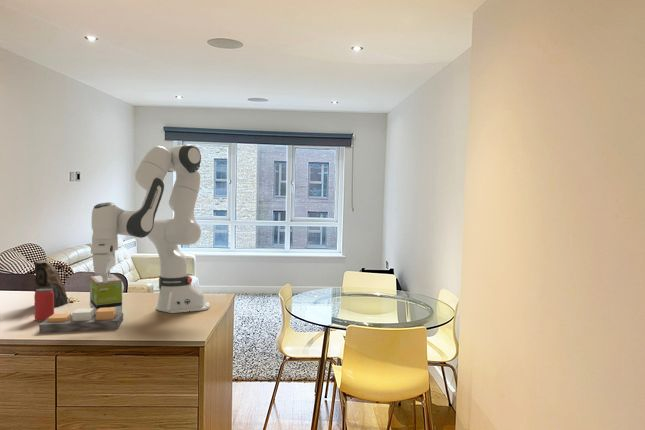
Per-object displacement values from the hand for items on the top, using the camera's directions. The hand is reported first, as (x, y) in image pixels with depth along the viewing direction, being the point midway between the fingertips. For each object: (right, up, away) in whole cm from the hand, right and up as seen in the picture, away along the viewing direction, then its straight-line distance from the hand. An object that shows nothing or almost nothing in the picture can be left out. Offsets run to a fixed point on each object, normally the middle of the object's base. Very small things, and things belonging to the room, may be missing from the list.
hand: (105, 282), depth 176 cm
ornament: (-17, -14, +42) cm, 47 cm away
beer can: (-27, -16, +7) cm, 33 cm away
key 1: (-16, -15, -3) cm, 22 cm away
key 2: (0, -14, 0) cm, 14 cm away
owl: (-37, -15, +28) cm, 49 cm away
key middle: (-8, -14, -2) cm, 16 cm away
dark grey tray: (-8, -16, -1) cm, 18 cm away
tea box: (-9, -16, +19) cm, 26 cm away
